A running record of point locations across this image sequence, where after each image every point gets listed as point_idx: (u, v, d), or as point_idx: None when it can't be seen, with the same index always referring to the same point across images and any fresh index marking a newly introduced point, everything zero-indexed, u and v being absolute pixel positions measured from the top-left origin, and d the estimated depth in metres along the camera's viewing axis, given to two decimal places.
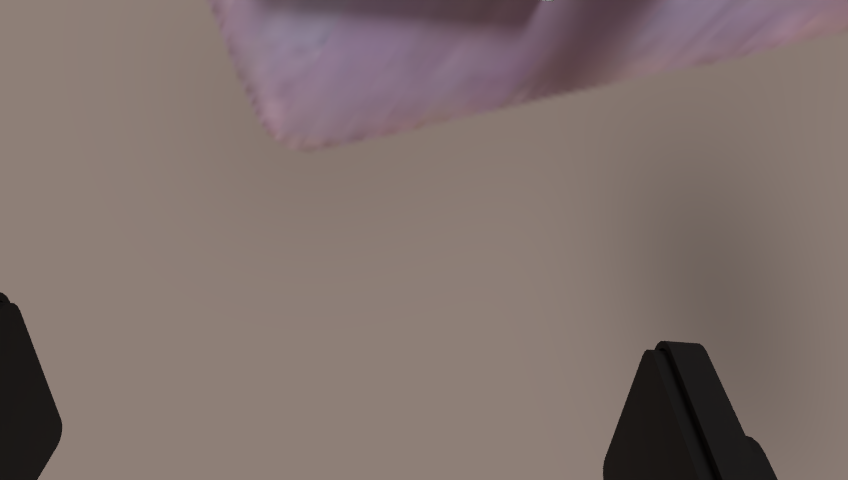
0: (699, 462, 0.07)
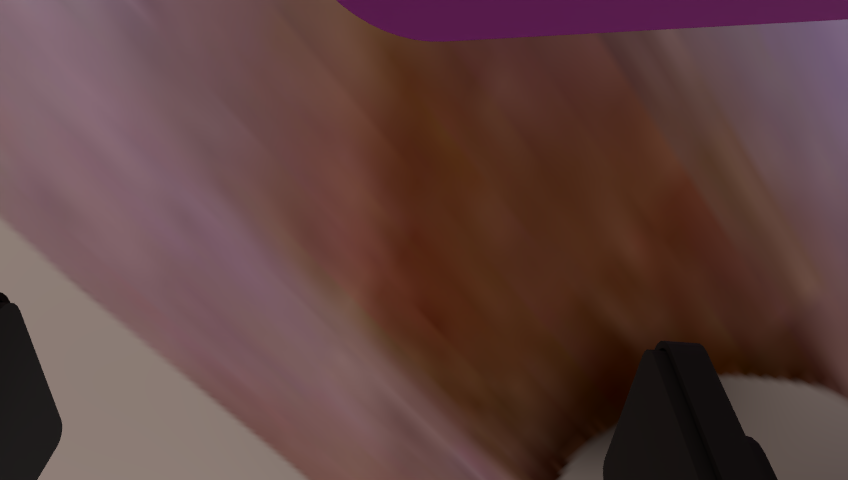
0: (699, 462, 0.07)
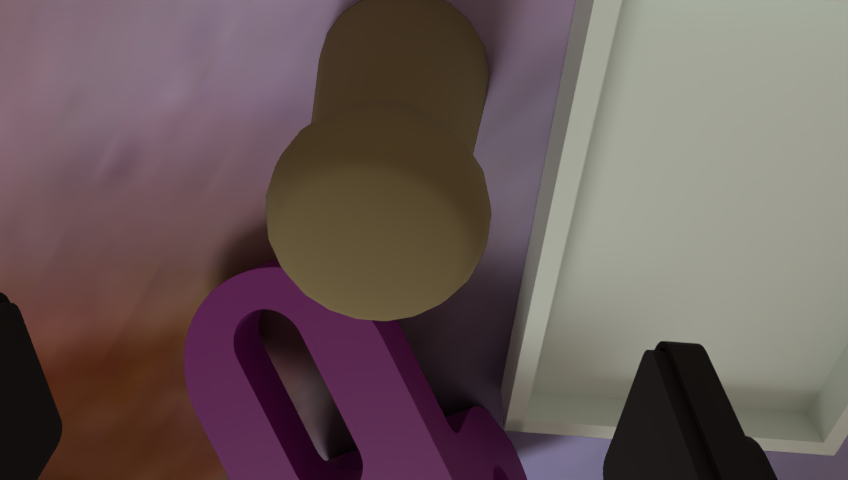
0: (699, 462, 0.07)
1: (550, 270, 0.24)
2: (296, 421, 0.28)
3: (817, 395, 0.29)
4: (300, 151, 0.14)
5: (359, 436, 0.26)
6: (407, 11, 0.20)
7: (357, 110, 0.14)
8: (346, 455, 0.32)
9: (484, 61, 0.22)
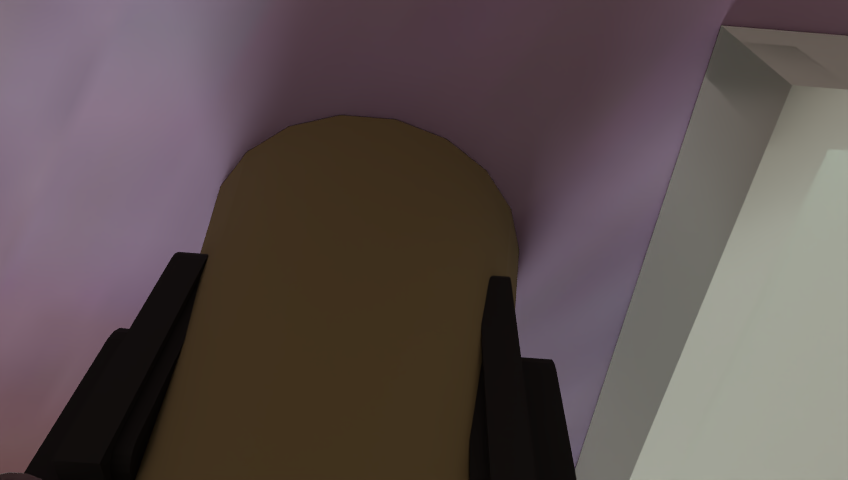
0: None
1: None
2: None
3: None
4: None
5: None
6: (361, 179, 0.10)
7: None
8: None
9: (512, 242, 0.12)
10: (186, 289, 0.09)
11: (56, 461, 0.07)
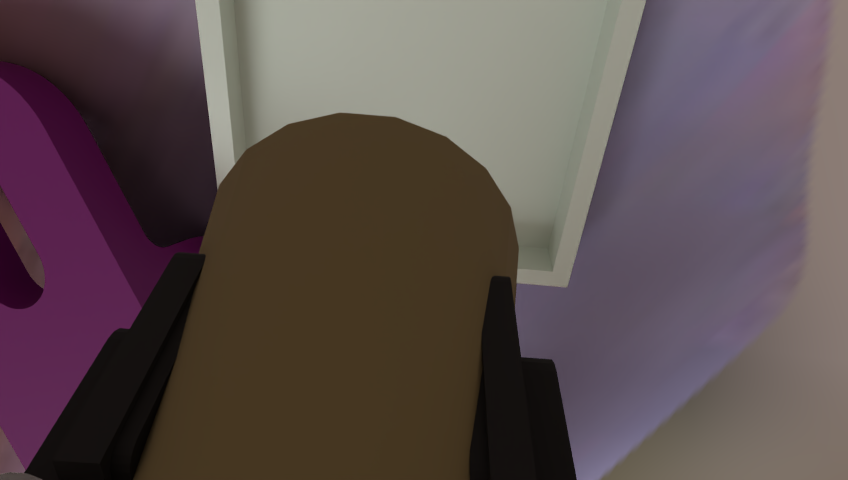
0: None
1: (215, 57, 0.23)
2: (2, 241, 0.27)
3: (553, 226, 0.29)
4: None
5: (37, 240, 0.25)
6: (360, 176, 0.10)
7: None
8: None
9: (512, 240, 0.12)
10: (186, 289, 0.09)
11: (56, 461, 0.07)
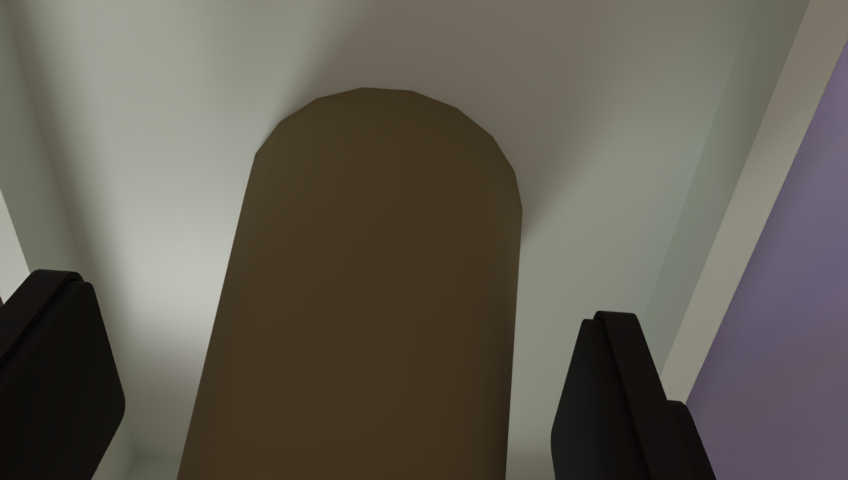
0: (620, 418, 0.08)
1: (13, 271, 0.13)
2: None
3: None
4: None
5: None
6: (383, 139, 0.11)
7: None
8: None
9: (516, 200, 0.13)
10: (35, 310, 0.09)
11: None
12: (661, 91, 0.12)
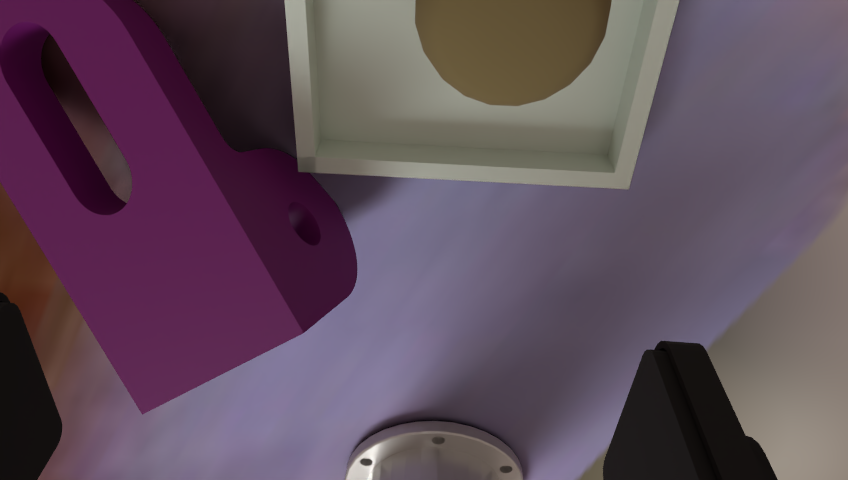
0: (699, 462, 0.07)
1: None
2: (86, 158, 0.29)
3: (612, 131, 0.29)
4: None
5: (123, 144, 0.26)
6: None
7: None
8: None
9: None
10: None
11: None
12: None
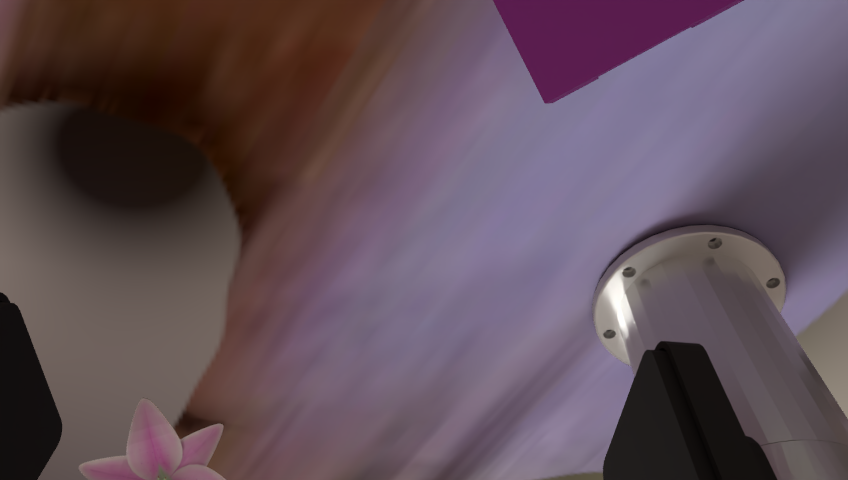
0: (699, 462, 0.07)
1: None
2: None
3: None
4: None
5: None
6: None
7: None
8: None
9: None
10: None
11: None
12: None
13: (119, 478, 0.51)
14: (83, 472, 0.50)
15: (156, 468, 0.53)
